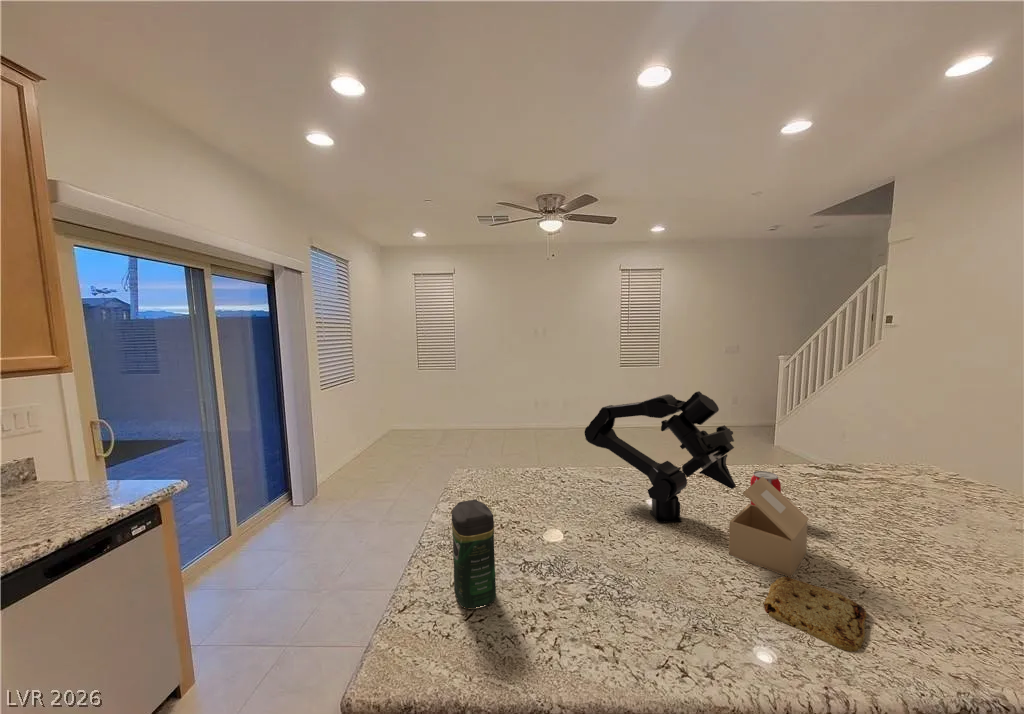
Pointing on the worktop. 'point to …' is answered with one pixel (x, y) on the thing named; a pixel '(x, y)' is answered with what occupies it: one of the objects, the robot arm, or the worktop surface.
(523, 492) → the worktop surface
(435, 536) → the worktop surface
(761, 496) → the lid flap
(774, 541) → the carton
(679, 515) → the robot arm
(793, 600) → the pastry
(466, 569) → the coffee jar
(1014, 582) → the worktop surface
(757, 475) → the soda can
